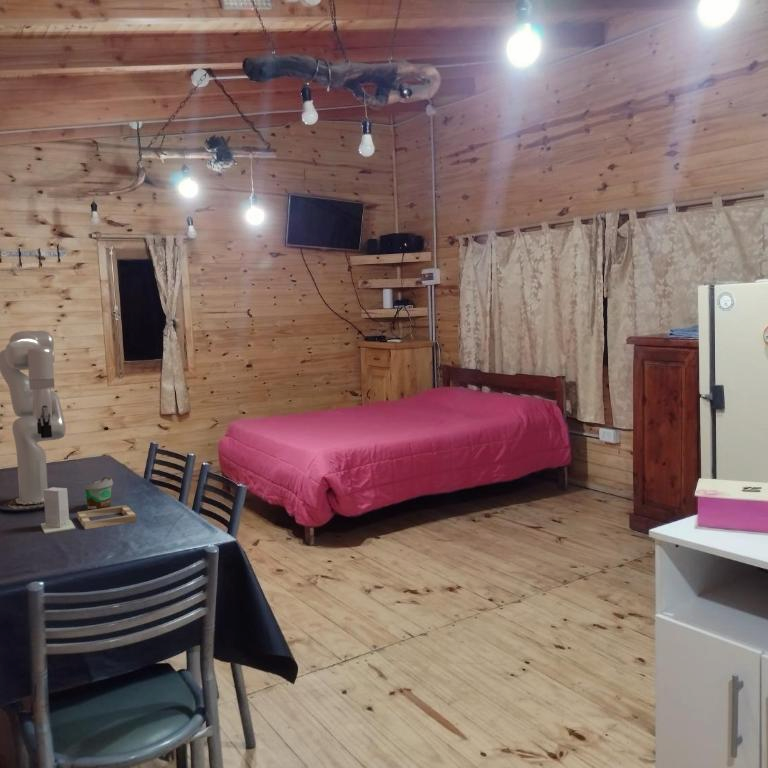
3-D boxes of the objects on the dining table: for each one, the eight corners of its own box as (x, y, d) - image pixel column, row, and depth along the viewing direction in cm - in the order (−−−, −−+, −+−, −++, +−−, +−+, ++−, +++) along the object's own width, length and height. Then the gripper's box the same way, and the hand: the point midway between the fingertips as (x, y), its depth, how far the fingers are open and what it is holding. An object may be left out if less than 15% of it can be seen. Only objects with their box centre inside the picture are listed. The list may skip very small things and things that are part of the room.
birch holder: (77, 517, 243) (77, 512, 243) (126, 510, 251) (126, 505, 251) (85, 529, 230) (84, 523, 229) (137, 521, 238) (136, 515, 238)
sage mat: (40, 525, 235) (40, 523, 235) (70, 520, 240) (70, 519, 240) (44, 533, 226) (44, 532, 226) (75, 528, 230) (75, 527, 230)
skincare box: (69, 524, 234) (67, 488, 233) (60, 528, 230) (58, 491, 229) (55, 522, 236) (52, 486, 235) (45, 526, 232) (42, 489, 231)
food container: (101, 512, 249) (99, 484, 248) (85, 512, 251) (83, 483, 250) (121, 503, 261) (119, 476, 260) (105, 502, 263) (104, 475, 262)
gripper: (26, 383, 244) (29, 433, 246) (32, 387, 230) (35, 440, 231) (50, 381, 248) (53, 431, 250) (57, 385, 234) (60, 438, 235)
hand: (44, 435), depth 241 cm, fingers open, 9 cm apart
